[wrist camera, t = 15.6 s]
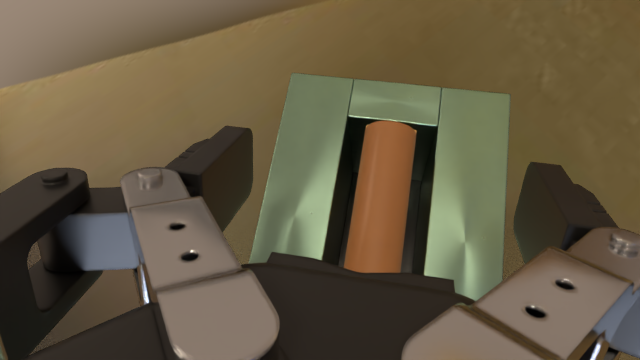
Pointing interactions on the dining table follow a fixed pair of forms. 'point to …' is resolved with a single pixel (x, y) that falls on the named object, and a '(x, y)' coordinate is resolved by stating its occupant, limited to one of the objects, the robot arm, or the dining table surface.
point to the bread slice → (381, 199)
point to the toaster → (426, 182)
